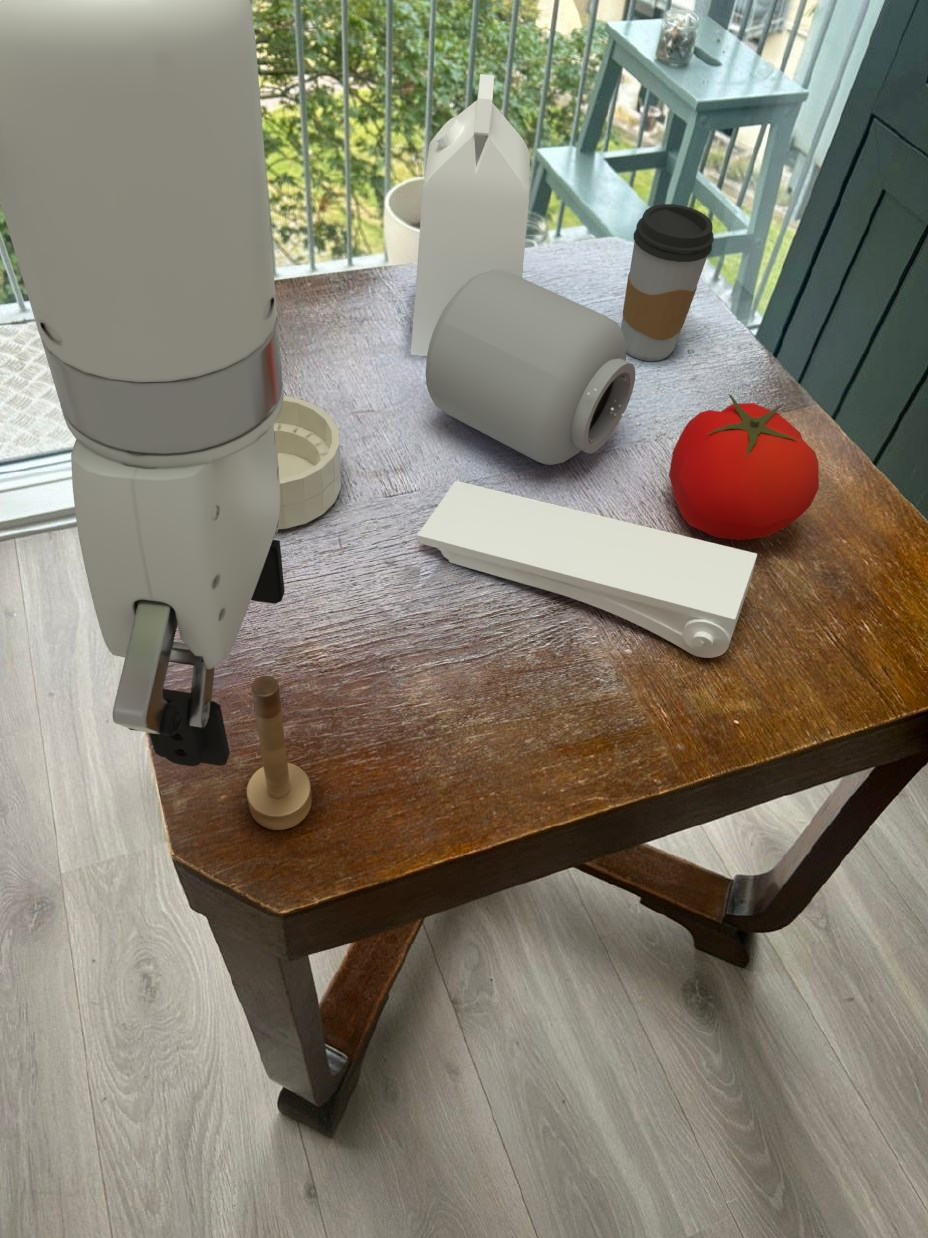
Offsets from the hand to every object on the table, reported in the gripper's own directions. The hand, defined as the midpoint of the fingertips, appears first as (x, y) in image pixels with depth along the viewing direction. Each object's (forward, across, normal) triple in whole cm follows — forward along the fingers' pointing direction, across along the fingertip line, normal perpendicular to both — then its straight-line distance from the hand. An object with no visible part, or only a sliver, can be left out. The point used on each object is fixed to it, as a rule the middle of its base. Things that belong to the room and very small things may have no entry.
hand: (225, 670), depth 45 cm
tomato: (+24, -44, +33) cm, 60 cm away
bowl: (+24, -39, -10) cm, 47 cm away
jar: (+24, -52, +17) cm, 60 cm away
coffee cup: (+24, -72, +26) cm, 80 cm away
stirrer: (+24, -7, -1) cm, 25 cm away
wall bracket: (+24, -33, +20) cm, 46 cm away
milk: (+24, -70, +5) cm, 74 cm away
